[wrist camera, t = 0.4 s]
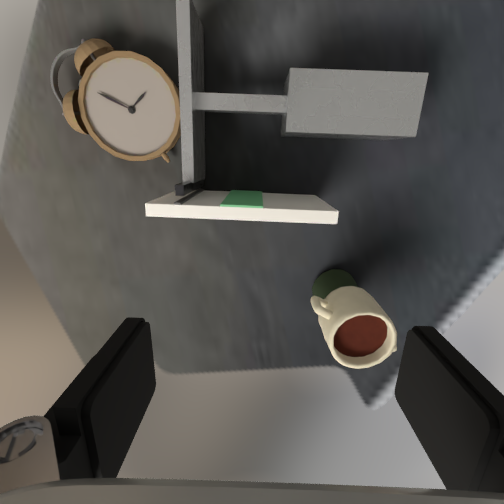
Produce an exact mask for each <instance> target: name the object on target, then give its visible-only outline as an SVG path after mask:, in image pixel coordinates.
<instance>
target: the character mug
mask: <svg viewBox="0 0 504 504" xmlns="http://www.w3.org/2000/svg"><path fill="white" fill-rule="evenodd" d="M312 292H313V296H312V297H311V304H312V307H313V310H314V311H315V312H316V313H317V314H318V315H319V316H318V318H319V324H320V326H321V328H322V332H323V335H324V338H325V340H326V342H327V344H328V346H329V348H330V351H331V353H332V355H333V357H334V358H335V359H336V360H337V361H338V362H339V363H341V364H342V365H344V366H347V367H350V368H356V369H358V368H368V367H371V366H374V365H376V364H379V363H381V362H382V361H383V360H385V359H386V358H387V357H388V356H390V355H391V353H392V352H394V351H396V350H397V346H396V341H397V332H396V329H395V327H394V324H393V322H392V321H391V319H390V318H389V317H388V315H387V314H386V313H385V312H384V310H383V309H382V308H381V307H380V306H379V304H378V303H377V302H376V301H375V299H374V298H373V297H372V296H371V295H370V294H368V293H367V292H366V291H365V290H364V289H362V288H358V286H357V284H356V282H355V280H354V279H353V277H352V276H351V274H349V273H347V272H346V271H344V270H340V269H332V270H329V271H327V272H324V273H322V274H321V275H320V276H319V277H318V278H317V279H316V280H315V282H314V285H313V287H312Z"/></svg>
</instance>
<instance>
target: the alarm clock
mask: <svg viewBox="0 0 504 504" xmlns="http://www.w3.org/2000/svg"><path fill="white" fill-rule="evenodd" d="M81 43H82V44H81V45H79V46H78V47H76V48H71V49H66V50H64V51H62V52H61V53H60V54H58V55H57V57H56V58H55V60H54V61H53V64H52V67H51V72H50V81H51V86H52V90H53V92H54V94H55V96H56V97H57V99H58V101H59V102H60V104H61V106H62V108H63V112H62V114H63V115H64V116H65V118H66V120H67V122H68V123H69V125H70V126H71V127H72V128H73V129H74V130H76V131H78V132H80V133H83V134H90V135H91V136H92V138H93V139H94V140H95V141H96V142H97V143H98V144H99V146H100V147H102V148H103V149H105V150H106V151H108V152H109V153H111V154H112V155H114V156H116V157H119V158H122V159H126V160H129V161H146V160H151V159H154V158H157V157H160V156H162V157H163V158H164V159H165V160H166V161H167V162H170V159H169V157H168V155H167V154H166V153H167V152H168V151H169V150H170V149H172V148H173V147H174V146H175V144H176V143H177V141H178V139H179V137H180V136H181V122H180V95H179V90H178V88H177V86H176V85H175V84H174V82H173V81H172V80H171V78H170V77H169V75H168V74H167V73H165V72H164V71H163V69H162V68H161V67H159V66H158V65H157V64H155V63H154V62H153V61H151V60H150V59H149V58H148V57H145V56H143V55H140V54H137V53H134V52H132V51H115V50H114V48H113V47H112V46H111V45H110V44H109V43H108V42H106V41H104V40H102V39H89V40H87V41H86V40H84V39H82V40H81ZM74 53H75V57H74V62H75V66H76V69H77V71H78V72H79V74H80V75H81V76H82V79H80V80H79V84H78V85H79V90H71V91H69V92H68V93H67V94H66V95H65V97H64V99H63V98H62V96H61V94H60V91H59V88H58V71H59V68H60V66H61V64H62V62H63V61H64V59H65V58H67V57H68V56H69V55H72V54H74Z"/></svg>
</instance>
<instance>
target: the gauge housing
mask: <svg viewBox="0 0 504 504" xmlns="http://www.w3.org/2000/svg"><path fill="white" fill-rule="evenodd" d="M427 78H428V73H421V72H393V71H365V70H338V69H310V68H290V70H289V73H288V75H287V78H286V81H285V84H284V92H283V96H287V103H286V115H282V124H281V136H282V137H308V138H334V139H360V140H394V139H402V138H410V137H416V133H417V128H418V123H419V118H420V113H421V108H422V103H423V98H424V93H425V88H426V83H427Z"/></svg>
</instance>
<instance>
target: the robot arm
mask: <svg viewBox="0 0 504 504" xmlns="http://www.w3.org/2000/svg"><path fill="white" fill-rule="evenodd" d="M155 387H156V379H155V369H154V359H153V350H152V340H151V331H150V324H149V322H145V320H144V318H126V319H125V320H124V321H123V323H122V324H121V325H120V326H119V327H118V329H117V330H116V331H115V332H114V333H113V335H112V336H111V337H110V338H109V340H108V341H107V342H106V343H105V344H104V346H103V347H102V348H101V349H100V350H99V352H98V353H97V354H96V355H95V356H94V357H93V358H92V359H91V360H90V361H89V362H88V363H87V365H86V366H85V367H84V368H83V369H82V371H81V372H80V373H79V374H78V375H77V377H76V378H75V379H74V380H73V382H72V383H71V384H70V385H69V387H68V388H67V389H66V390H65V391H64V392H63V394H62V395H61V396H60V397H59V398H58V400H57V401H56V402H55V403H54V405H53V406H52V407H51V408H50V409H49V410H48V412H47V413H46V414H45V415H44V416H28V417H23V418H20V419H17V420H15V421H13V422H10V423H8V424H6V425H4V426H3V427H1V428H0V504H504V395H502V393H500V392H499V391H498V390H497V389H496V388H495V387H494V386H493V385H492V384H491V383H490V382H489V381H488V380H487V379H486V378H485V377H484V376H483V375H482V374H481V373H480V372H479V371H478V370H477V369H476V368H475V367H474V366H473V365H472V364H471V363H470V362H469V361H467V359H465V357H463V355H462V354H461V353H459V352H458V351H457V350H456V349H455V348H454V347H453V346H452V345H451V344H450V343H449V342H448V341H447V340H446V339H445V338H444V337H443V336H442V335H441V334H440V333H439V332H438V331H437V330H436V329H435V328H434V327H431V326H414V327H413V328H412V330H409V331H408V332H407V336H406V341H405V345H404V350H403V355H402V359H401V364H400V369H399V373H398V378H397V382H396V387H395V397H396V400H397V402H398V403H399V406H400V407H401V409H402V411H403V412H404V414H405V416H406V418H407V420H408V421H409V423H410V425H411V427H412V428H413V430H414V432H415V434H416V436H417V437H418V439H419V441H420V443H421V444H422V446H423V448H424V450H425V452H426V453H427V455H428V457H429V459H430V460H431V462H432V464H433V466H434V467H435V469H436V471H437V473H438V474H439V476H440V478H441V480H442V481H443V483H444V485H445V487H446V489H447V490H445V489H423V488H401V487H378V486H355V485H329V484H305V483H304V484H303V483H278V482H275V483H274V482H251V481H219V480H187V479H154V478H152V479H151V478H116V477H117V475H118V472H119V470H120V468H121V466H122V463H123V461H124V459H125V457H126V454H127V452H128V450H129V448H130V445H131V443H132V441H133V439H134V436H135V434H136V432H137V430H138V428H139V425H140V423H141V421H142V419H143V416H144V414H145V412H146V409H147V407H148V405H149V403H150V401H151V398H152V396H153V394H154V391H155Z"/></svg>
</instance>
